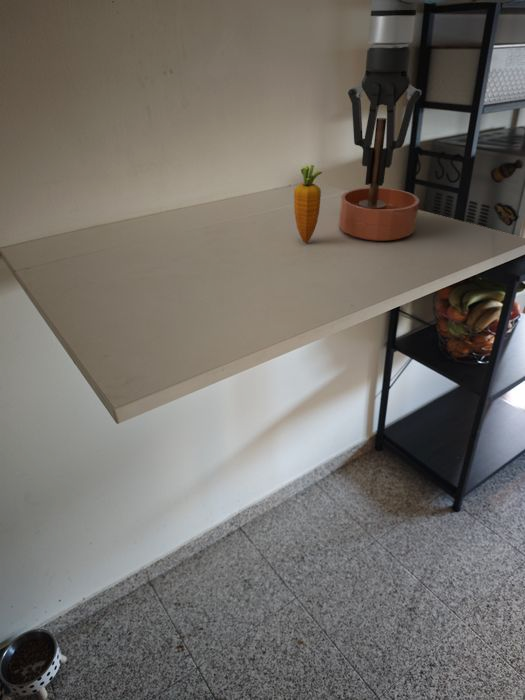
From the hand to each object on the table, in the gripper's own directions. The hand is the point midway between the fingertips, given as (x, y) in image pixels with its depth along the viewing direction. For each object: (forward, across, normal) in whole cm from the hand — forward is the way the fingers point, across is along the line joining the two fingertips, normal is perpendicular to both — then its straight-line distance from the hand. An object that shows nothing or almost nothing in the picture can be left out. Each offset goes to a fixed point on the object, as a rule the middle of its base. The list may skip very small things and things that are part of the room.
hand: (374, 183), depth 100 cm
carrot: (+10, +11, +12) cm, 19 cm away
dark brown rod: (+6, 0, 0) cm, 6 cm away
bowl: (+9, -1, 0) cm, 9 cm away
